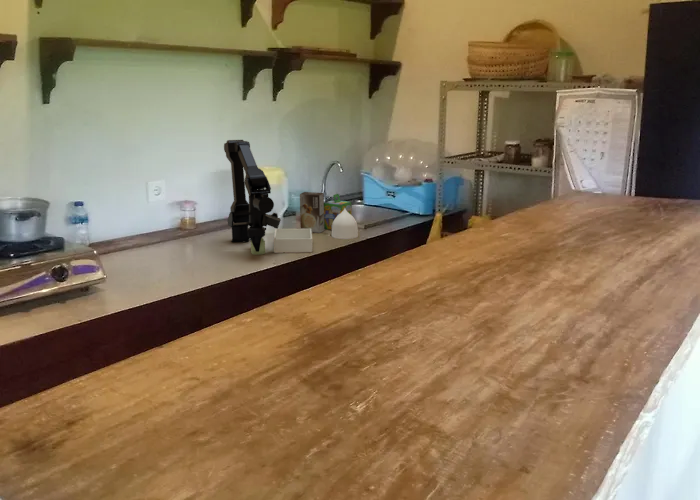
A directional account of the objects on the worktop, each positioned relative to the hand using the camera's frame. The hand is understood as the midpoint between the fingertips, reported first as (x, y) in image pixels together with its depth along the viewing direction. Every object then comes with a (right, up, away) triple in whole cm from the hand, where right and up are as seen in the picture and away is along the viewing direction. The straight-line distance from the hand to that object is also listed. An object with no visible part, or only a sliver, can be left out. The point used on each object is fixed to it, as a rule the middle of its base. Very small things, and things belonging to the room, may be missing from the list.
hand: (258, 249), depth 252 cm
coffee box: (+18, +8, +36) cm, 41 cm away
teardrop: (+32, +5, +28) cm, 43 cm away
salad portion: (0, -1, 0) cm, 1 cm away
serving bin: (+12, +1, +9) cm, 16 cm away
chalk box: (+29, +9, +41) cm, 51 cm away
